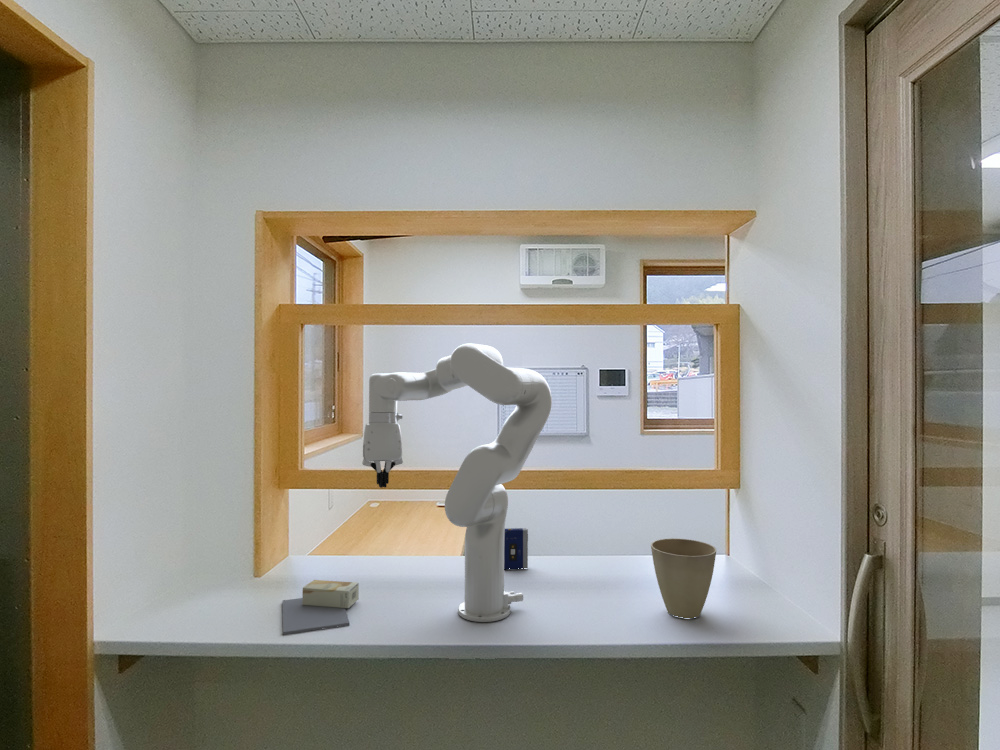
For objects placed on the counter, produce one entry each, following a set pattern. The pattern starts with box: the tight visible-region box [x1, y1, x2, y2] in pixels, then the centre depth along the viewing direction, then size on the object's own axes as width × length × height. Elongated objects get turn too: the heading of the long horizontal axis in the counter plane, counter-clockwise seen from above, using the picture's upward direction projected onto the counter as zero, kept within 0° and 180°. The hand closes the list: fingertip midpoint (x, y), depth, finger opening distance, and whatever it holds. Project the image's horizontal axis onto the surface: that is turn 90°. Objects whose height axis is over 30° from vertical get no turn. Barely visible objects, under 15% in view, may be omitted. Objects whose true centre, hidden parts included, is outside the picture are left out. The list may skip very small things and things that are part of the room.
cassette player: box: [504, 527, 529, 569], centre depth 169 cm, size 7×2×12 cm, turn 95°
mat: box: [282, 597, 350, 636], centre depth 135 cm, size 14×20×1 cm
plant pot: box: [650, 537, 717, 618], centre depth 135 cm, size 15×15×16 cm
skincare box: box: [301, 579, 360, 609], centre depth 140 cm, size 6×4×12 cm
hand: (382, 486), depth 153 cm, fingers closed
